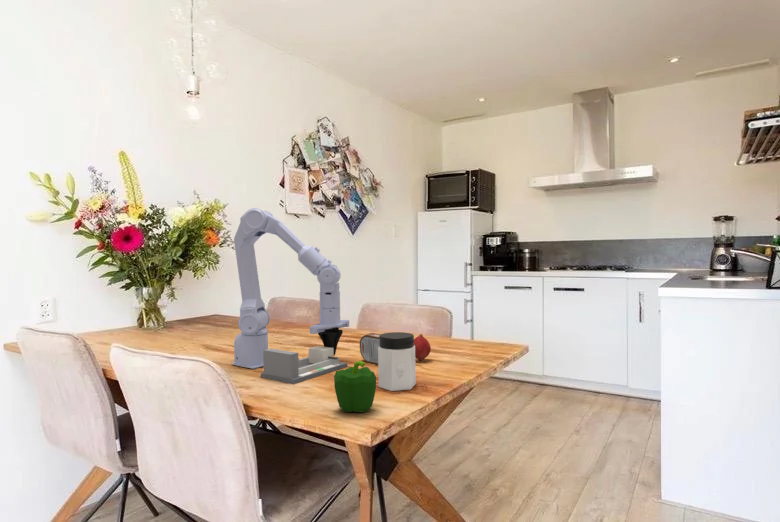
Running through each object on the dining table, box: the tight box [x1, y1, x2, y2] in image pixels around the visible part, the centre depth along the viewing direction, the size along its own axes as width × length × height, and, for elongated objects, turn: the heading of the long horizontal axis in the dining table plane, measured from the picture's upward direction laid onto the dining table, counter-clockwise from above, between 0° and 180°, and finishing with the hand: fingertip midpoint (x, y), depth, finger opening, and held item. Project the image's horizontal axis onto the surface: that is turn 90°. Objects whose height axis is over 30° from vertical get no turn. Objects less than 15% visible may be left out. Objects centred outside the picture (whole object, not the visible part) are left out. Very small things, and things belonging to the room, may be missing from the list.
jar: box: [377, 331, 417, 392], centre depth 109 cm, size 9×8×12 cm
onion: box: [414, 333, 432, 362], centre depth 133 cm, size 6×6×8 cm
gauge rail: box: [260, 348, 348, 385], centre depth 123 cm, size 12×20×7 cm, turn 145°
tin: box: [359, 332, 382, 366], centre depth 130 cm, size 15×3×8 cm, turn 45°
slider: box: [308, 345, 338, 364], centre depth 127 cm, size 9×4×4 cm, turn 55°
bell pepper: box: [333, 360, 377, 413], centre depth 93 cm, size 8×8×10 cm
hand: (330, 355), depth 131 cm, fingers closed
